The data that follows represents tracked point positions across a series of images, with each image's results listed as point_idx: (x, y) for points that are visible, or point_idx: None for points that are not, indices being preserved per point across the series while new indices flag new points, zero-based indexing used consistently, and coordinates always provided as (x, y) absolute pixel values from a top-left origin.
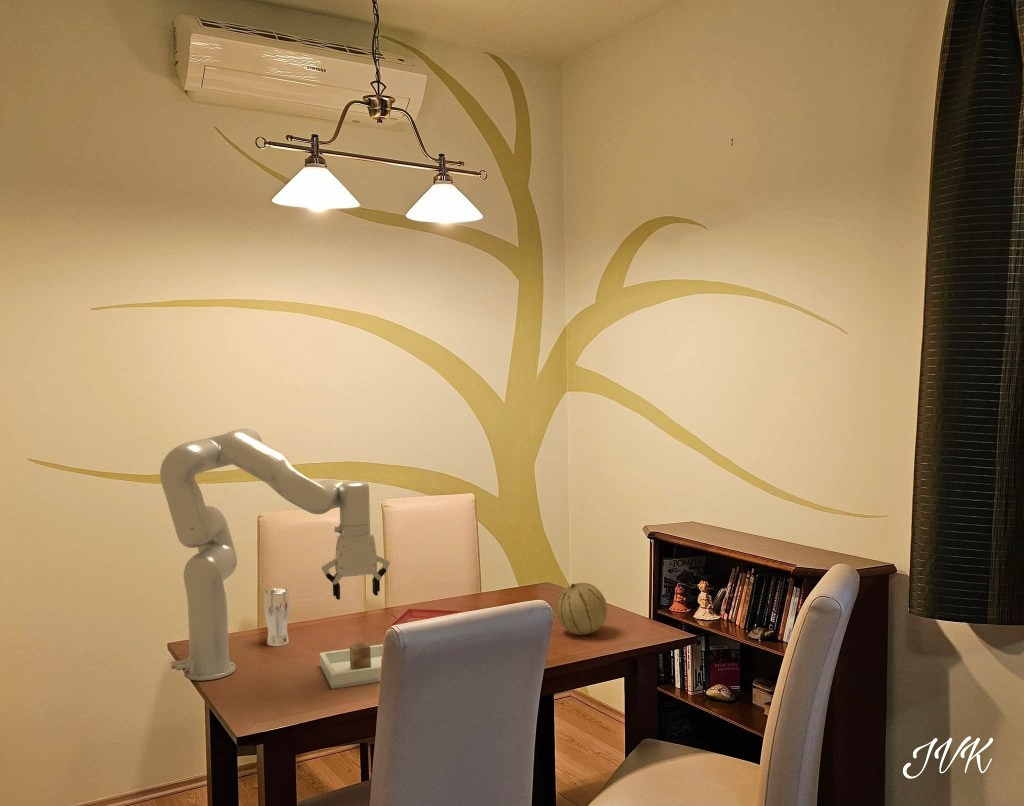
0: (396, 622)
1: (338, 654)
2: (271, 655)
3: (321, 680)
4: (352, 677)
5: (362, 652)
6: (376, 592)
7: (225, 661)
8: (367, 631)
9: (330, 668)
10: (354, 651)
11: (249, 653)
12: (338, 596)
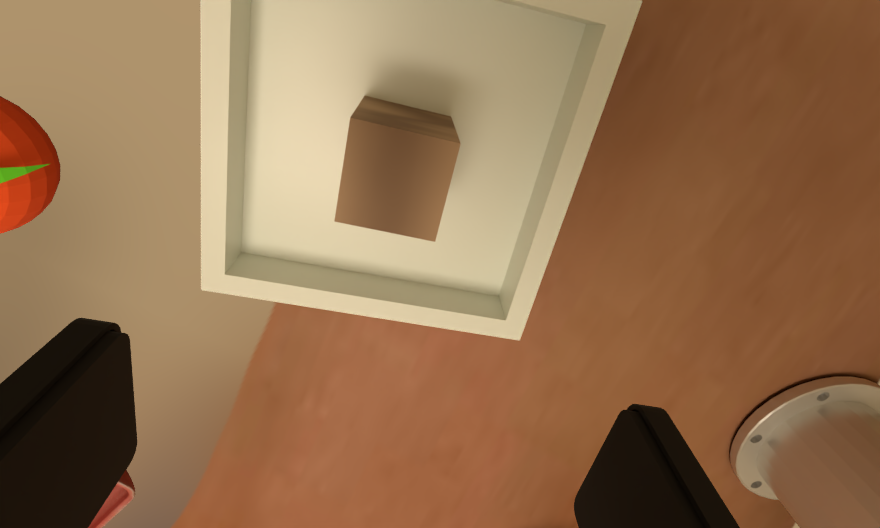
0: (96, 521)
1: (446, 304)
2: (585, 476)
3: None
4: None
5: (401, 124)
6: (73, 347)
7: (820, 435)
8: (221, 522)
9: (590, 109)
10: (448, 138)
11: None
12: (669, 432)
